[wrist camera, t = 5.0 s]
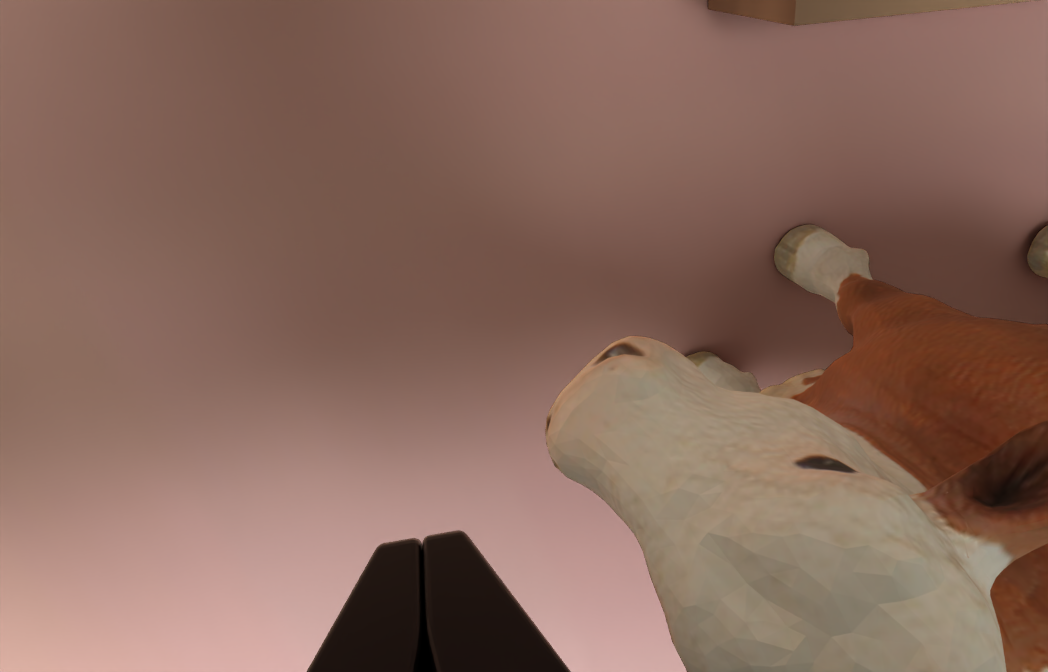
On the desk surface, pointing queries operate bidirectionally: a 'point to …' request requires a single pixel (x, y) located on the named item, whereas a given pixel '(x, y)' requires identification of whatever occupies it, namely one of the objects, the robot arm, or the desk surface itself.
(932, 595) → the bull figurine
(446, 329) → the desk surface
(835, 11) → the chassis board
